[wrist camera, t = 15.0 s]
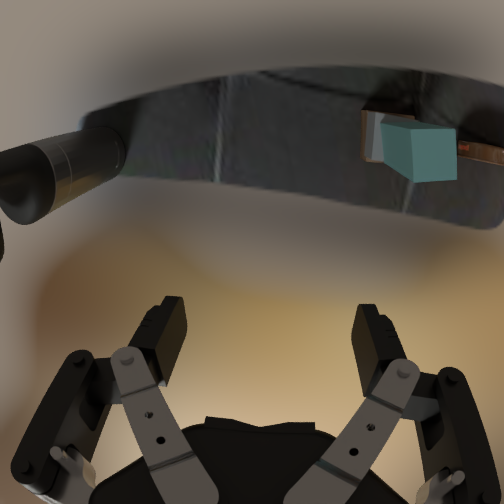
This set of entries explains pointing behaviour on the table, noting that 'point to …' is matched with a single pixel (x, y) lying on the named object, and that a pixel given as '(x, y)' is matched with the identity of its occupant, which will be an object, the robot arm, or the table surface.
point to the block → (420, 150)
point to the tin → (481, 152)
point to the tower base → (364, 127)
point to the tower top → (378, 133)
